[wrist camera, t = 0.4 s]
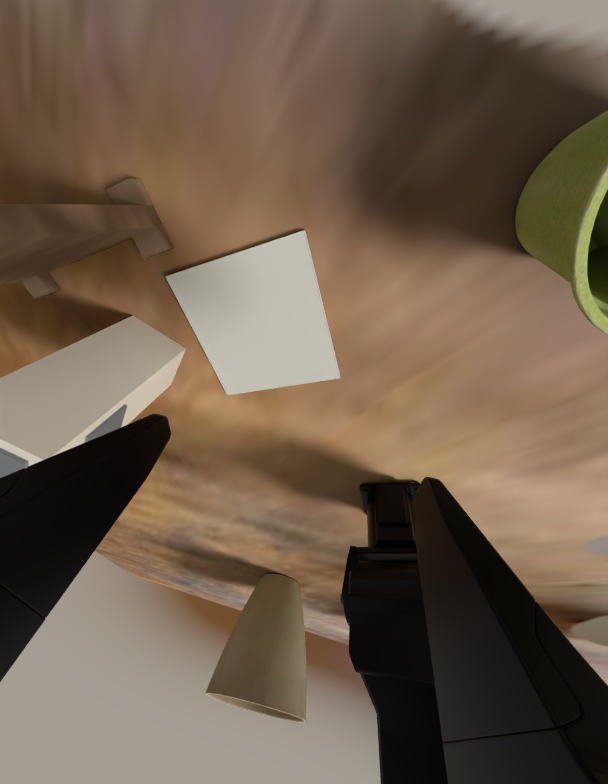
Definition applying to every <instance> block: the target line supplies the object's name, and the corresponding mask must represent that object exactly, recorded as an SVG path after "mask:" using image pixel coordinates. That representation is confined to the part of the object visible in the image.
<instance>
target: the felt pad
mask: <svg viewBox="0 0 608 784" xmlns="http://www.w3.org/2000/svg"><path fill="white" fill-rule="evenodd" d="M165 277H166V279H167V281H168V283H169V285H170V287H171V288H172V290H173V292H174V294H175V296H176V298H177V300H178V302H179V304H180V306H181V308H182V309H183V311H184V313H185V315H186V317H187V319H188V321H189V323H190V325H191V327H192V329H193V330H194V332H195V334H196V336H197V338H198V340H199V342H200V344H201V346H202V348H203V350H204V351H205V353H206V355H207V357H208V359H209V361H210V363H211V365H212V367H213V369H214V370H215V372H216V374H217V376H218V378H219V380H220V382H221V384H222V386H223V388H224V390H225V391H226V393H227V395H232V394H239V393H245V392H252V391H259V390H265V389H272V388H279V387H285V386H292V385H299V384H305V383H312V382H319V381H325V380H332V379H339V378H340V372H339V368H338V364H337V360H336V356H335V352H334V348H333V343H332V339H331V335H330V331H329V327H328V323H327V319H326V314H325V310H324V306H323V302H322V298H321V294H320V289H319V285H318V281H317V277H316V273H315V269H314V265H313V260H312V256H311V252H310V248H309V244H308V240H307V236H306V231H305V230H303V231H300V232H297V233H294V234H291V235H288V236H285V237H282V238H279V239H276V240H273V241H270V242H267V243H264V244H261V245H258V246H255V247H252V248H249V249H246V250H243V251H240V252H237V253H234V254H231V255H228V256H225V257H222V258H219V259H216V260H213V261H210V262H207V263H204V264H201V265H198V266H195V267H192V268H189V269H186V270H183V271H180V272H177V273H174V274H171V275H168V276H165Z"/></svg>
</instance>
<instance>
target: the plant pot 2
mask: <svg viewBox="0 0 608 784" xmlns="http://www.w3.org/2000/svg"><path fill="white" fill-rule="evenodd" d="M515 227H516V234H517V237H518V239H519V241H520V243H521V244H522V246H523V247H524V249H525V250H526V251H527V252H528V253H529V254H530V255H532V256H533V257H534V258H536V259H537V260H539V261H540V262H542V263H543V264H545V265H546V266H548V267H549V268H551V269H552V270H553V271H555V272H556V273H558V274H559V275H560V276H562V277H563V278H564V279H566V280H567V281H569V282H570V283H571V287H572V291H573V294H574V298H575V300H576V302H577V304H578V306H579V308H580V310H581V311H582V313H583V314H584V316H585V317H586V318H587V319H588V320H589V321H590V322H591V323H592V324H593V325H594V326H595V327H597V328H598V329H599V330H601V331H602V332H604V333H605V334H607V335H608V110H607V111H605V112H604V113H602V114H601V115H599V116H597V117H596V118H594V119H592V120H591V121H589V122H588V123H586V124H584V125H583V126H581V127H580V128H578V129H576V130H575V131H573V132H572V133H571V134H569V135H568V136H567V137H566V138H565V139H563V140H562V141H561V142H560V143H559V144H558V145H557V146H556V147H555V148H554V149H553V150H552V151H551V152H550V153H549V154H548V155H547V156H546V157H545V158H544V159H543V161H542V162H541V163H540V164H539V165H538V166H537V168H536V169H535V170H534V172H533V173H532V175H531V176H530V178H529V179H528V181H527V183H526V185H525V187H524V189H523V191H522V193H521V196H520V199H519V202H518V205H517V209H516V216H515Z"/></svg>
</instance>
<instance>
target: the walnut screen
mask: <svg viewBox="0 0 608 784" xmlns="http://www.w3.org/2000/svg"><path fill="white" fill-rule="evenodd" d="M106 191H107V193H108V195H109V197H110V199H111V201H112V202H113V204H114V205H89V204H11V203H0V286H2V285H7V284H11V283H16V282H21V283H22V284H23V285H24V286H25V287H26V289H27V290H28V291H29V292H30V294H31V295H32V296H33V297H34V299H35V298H38V297H42V296H45V295H48V294H51V293H54V292H56V291H59V290H61V289H60V287H59V286H58V285H57V283H56V282H55V281H54V279H53V278H52V277H51V275H50V274H49V272H51V271H53V270H56V269H58V268H61V267H63V266H66V265H68V264H71V263H73V262H75V261H78V260H80V259H83V258H85V257H88V256H90V255H93V254H95V253H98V252H100V251H102V250H105V249H107V248H110V247H112V246H115V245H117V244H120V243H122V242H125V241H127V240H129V239H133V241H134V243H135V244H136V246H137V248H138V250H139V252H140V254H141V255H142V257H143V258H146V257H150V256H154V255H156V254H159V253H162V252H165V251H167V250H170V249H173V246H172V244H171V241H170V239H169V237H168V235H167V233H166V231H165V229H164V227H163V225H162V223H161V221H160V219H159V217H158V215H157V212H156V210H155V208H154V206H153V204H152V202H151V200H150V198H149V196H148V194H147V192H146V190H145V188H144V186H143V183H142V181H141V179H133V178H128V179H126V180H124V181H122V182H120V183H118V184H116V185H114V186H112V187H110V188H108V189H106Z"/></svg>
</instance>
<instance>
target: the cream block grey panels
mask: <svg viewBox="0 0 608 784" xmlns="http://www.w3.org/2000/svg"><path fill="white" fill-rule="evenodd" d="M185 350H186V348H184V347H183V346H181V345H180V344H178V343H176V342H175V341H173V340H172V339H170V338H168V337H167V336H165V335H164V334H162V333H161V332H159V331H157V330H156V329H154V328H153V327H151V326H149V325H148V324H146V323H145V322H143V321H141V320H140V319H138V318H137V317H135V316H131V317H128V318H126V319H124V320H122V321H120V322H118V323H116V324H114V325H112V326H109V327H107V328H105V329H103V330H101V331H99V332H97V333H95V334H92V335H90V336H88V337H86V338H84V339H82V340H80V341H78V342H75V343H73V344H71V345H69V346H67V347H65V348H63V349H61V350H59V351H56V352H54V353H52V354H50V355H48V356H46V357H44V358H42V359H39V360H37V361H35V362H33V363H31V364H29V365H27V366H25V367H23V368H20V369H18V370H16V371H14V372H12V373H10V374H8V375H6V376H3V377H1V378H0V478H1V477H4V476H6V475H9V474H11V473H14V472H16V471H18V470H21V469H23V468H27V467H28V466H30V465H33V464H35V463H37V462H40V461H42V460H45V459H47V458H49V457H52V456H54V455H57V454H59V453H61V452H64V451H66V450H69V449H71V448H73V447H76V446H78V445H80V444H83V443H85V442H88V441H90V440H92V439H95V438H97V437H99V436H102V435H104V434H107V433H109V432H111V431H114V430H116V429H119V428H121V427H123V426H126V425H128V424H129V423H130V422H131V421H132V420H133V419H134V418H135V417H136V416H138V415H139V414H140V413H141V412H142V411H143V410H144V409H145V408H146V407H147V406H148V405H149V404H150V403H152V402H153V401H154V400H155V399H156V398H157V397H158V396H159V395H160V394H161V393H162V392H163V391H164V390H165V389H167V388H168V387H169V386H170V385H171V383H172V381H173V379H174V376H175V374H176V371H177V369H178V367H179V364H180V362H181V359H182V357H183V355H184V352H185Z"/></svg>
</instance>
